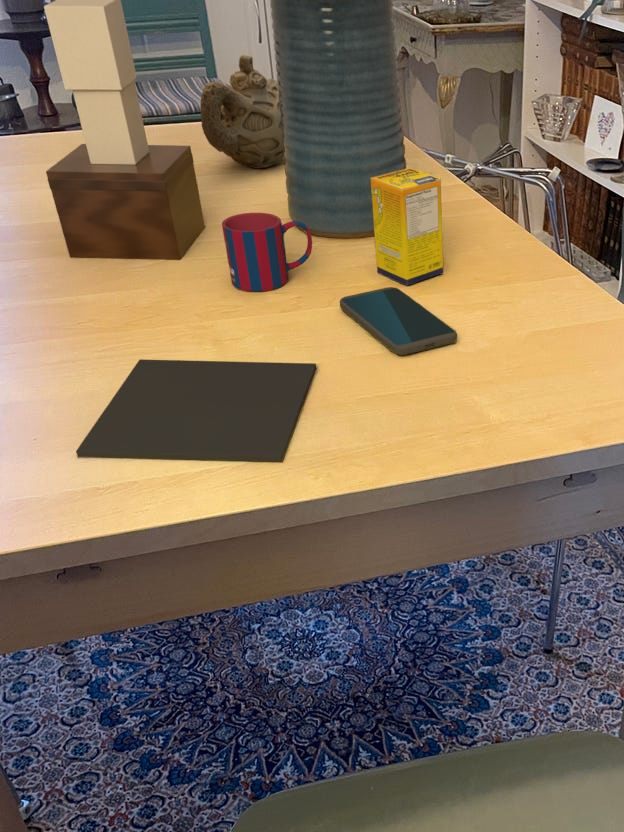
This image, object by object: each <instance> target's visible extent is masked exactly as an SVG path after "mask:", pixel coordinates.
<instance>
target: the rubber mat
mask: <svg viewBox="0 0 624 832" xmlns="http://www.w3.org/2000/svg"><path fill="white" fill-rule="evenodd" d="M317 369H318V367H317V363H313V362H309V363H307V362H272V361H271V362H270V361H269V362H268V361H267V362H266V361H263V362H262V361H227V360H226V361H225V360H224V361H223V360H222V361H221V360H219V361H218V360H183V359H182V360H181V359H180V360H179V359H177V360H176V359H143V358H142V359H139V360H138V361H137V362H136V364H135V365H134V367H133V368H132V369H131V371H130V373H129V374H128V375H127V377H126V378H125V380H124V381H123V383H122V384H121V385H120V387H119V389H118V390H117V391H116V392H115V394H114V396H113V397H112V398H111V400H110V401H109V402H108V404H107V406H106V407H105V408H104V410H103V412H102V413H101V414H100V415H99V417H98V418H97V420H96V421H95V422H94V425H93V426H92V427H91V429H90V430H89V431H88V433H87V435H86V436H85V437H84V439H83V440H82V441H81V443H80V445H79V446H78V447H77V449H76V451H75V453H76V456H77V458H102V459H104V458H107V459H139V460H140V459H143V460H146V459H149V460H182V461H187V460H188V461H219V462H221V461H223V462H256V463H257V462H259V463H261V462H262V463H283V461H284V458H285V456H286V453H287V450H288V447H289V445H290V442H291V440H292V436H293V434H294V431H295V428H296V426H297V423H298V420H299V418H300V416H301V415H300V414H301V412H302V410H303V408H304V405H305V401H306V398H307V396H308V393H309V390H310V388H311V385H312V383H313V380H314V377H315V374H316V371H317Z"/></svg>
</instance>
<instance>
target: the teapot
mask: <svg viewBox="0 0 624 832" xmlns="http://www.w3.org/2000/svg"><path fill="white" fill-rule="evenodd" d="M253 61H254V60H253V56H250V55H244V54H243V55H240V56H239V59H238V68H239V70H236V71H234V72H233V73H232V74H230V78H229V84H230V86H231V87H232V88H231V87H230V86H228V85H226V84H224V83H222V82H219V81H217V80H215V81H210V82H207V83H206V84H205V85H204V87H203V90H202V92H201V97H200V102H199V103H200V120H201V129H202V132H203V134H204V136H205V138H206V140H207V142H208V144H209V145H210V146H211V147H212V148H214V149H215V150H216V151H218V152H219V153H223V154H225V155H226V156H228V157H230V158H231V159H232V160H233V161H234V162H235V163H238V164H240V165H241V166H245V167H250V168H256V169H262V168H270V167H273V166H276V165H278V164H280V163H281V162H283V159H284V155H283V147H284V145H283V143H282V133H283V131H282V127H281V124H282V121H281V116H280V115H281V111H280V101H279V91H278V81H277V80H276V79H274V78H269V79H268V78H267V77H265V76H264V75H263V74H262V73H261V72H259V70H257V69H254V65H253V64H254V62H253Z"/></svg>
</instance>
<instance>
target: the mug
mask: <svg viewBox="0 0 624 832" xmlns="http://www.w3.org/2000/svg"><path fill="white" fill-rule="evenodd" d="M282 223H283V222H282V219H281V218H280V217H279V216H278V215H275V214H273V213H268V212H244V213H238V214H234V215H231V216H229V217H226V218H225V219H224V220H222V222H221V228H222V234H223V241H224V246H225V252H226V258H227V262H228V263H227V264H228V269H229V274H230V281H231V285H232V286H233V287H234V288H236V289H237V290H240V291H244V292H250V293H251V292H252V293H253V292H254V293H256V292H257V293H258V292H259V293H261V292H268V291H273V290H276V289H280V288H282V287H284V286H285V285H287V283H288V282H289V279H290V278H289V271H292V270H295V269H296V268H298V267H300V266H301V265H303V264H304V263H305V262H307V260H308V259H309V258H310V255H311V254H312V250H313V238H312V234H311V233H310V231H309V229H308V227H307V226H306V225H305V224H304V223H302V222H300V221H292V220H291V221H288V222H286V223H283V224H282ZM298 226H300V227H302V228H303V229H304V230H305V231H304V232H305V234H306V238H307V245H306V246H307V247H306V249H305V251H304V253H303V255H302V256H300V257H299V258H298V259H296V260H294V261H292V262H288V261H287V254H286V253H287V252H286V247H285V233H287V231H288V230H289V229H291V228H293V227H298Z"/></svg>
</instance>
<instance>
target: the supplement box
mask: <svg viewBox="0 0 624 832" xmlns="http://www.w3.org/2000/svg"><path fill="white" fill-rule="evenodd" d="M371 192H372V204H373V219H374V233H375V235H374V243H375V244H374V245H375V260H376V273H377V274H379V275H381V276H384V277H386V278H388V279H390V280H392V281H395V282H397V283H399V284H401V285H404V286H407V287H408V286H410V285H414V284H415V283H419V282H421V281H424V280H427V279H430V278H433V277H435V276H436V277H437V276H439V275H441V274H442V275H443V274H444V251H443V248H444V247H443V216H442V214H443V213H442V212H443V211H442V180H441V177H439V176H435V175H432V174H429V173H426V172H423V171H421V170H417V169H416V168H412V167H408V168H407V167H406V169H403V170H399V171H395V172H392V173H388V174H384V175H380V176H376V177H372V178H371Z"/></svg>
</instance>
